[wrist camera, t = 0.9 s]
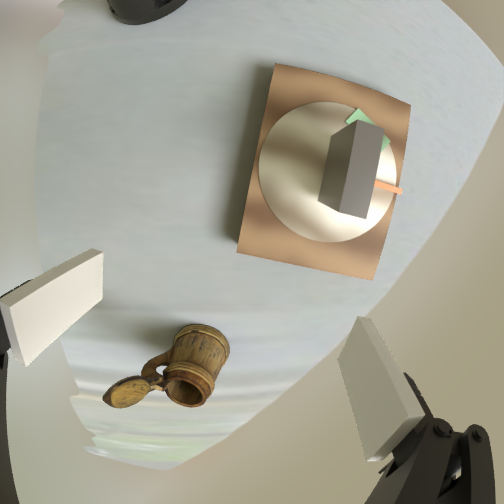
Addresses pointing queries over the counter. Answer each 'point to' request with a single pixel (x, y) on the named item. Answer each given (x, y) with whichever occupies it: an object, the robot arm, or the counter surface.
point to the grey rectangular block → (353, 169)
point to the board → (318, 174)
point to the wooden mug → (177, 370)
